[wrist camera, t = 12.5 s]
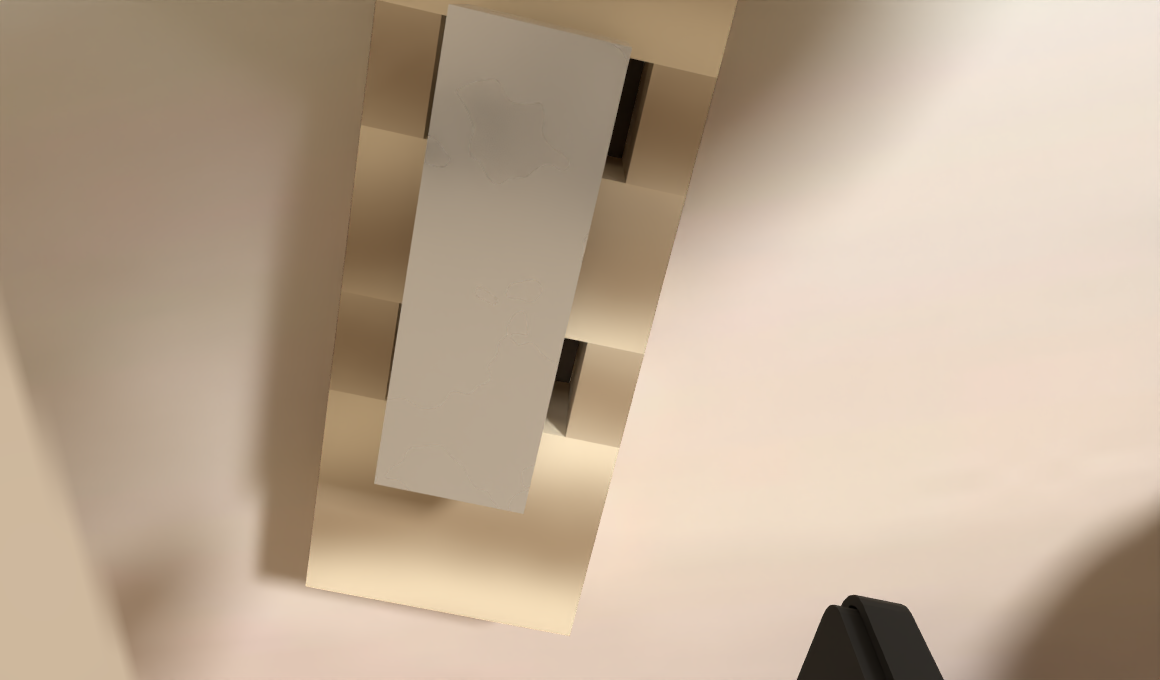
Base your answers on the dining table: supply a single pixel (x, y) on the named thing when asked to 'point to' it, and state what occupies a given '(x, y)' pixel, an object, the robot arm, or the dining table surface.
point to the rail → (597, 320)
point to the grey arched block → (496, 251)
